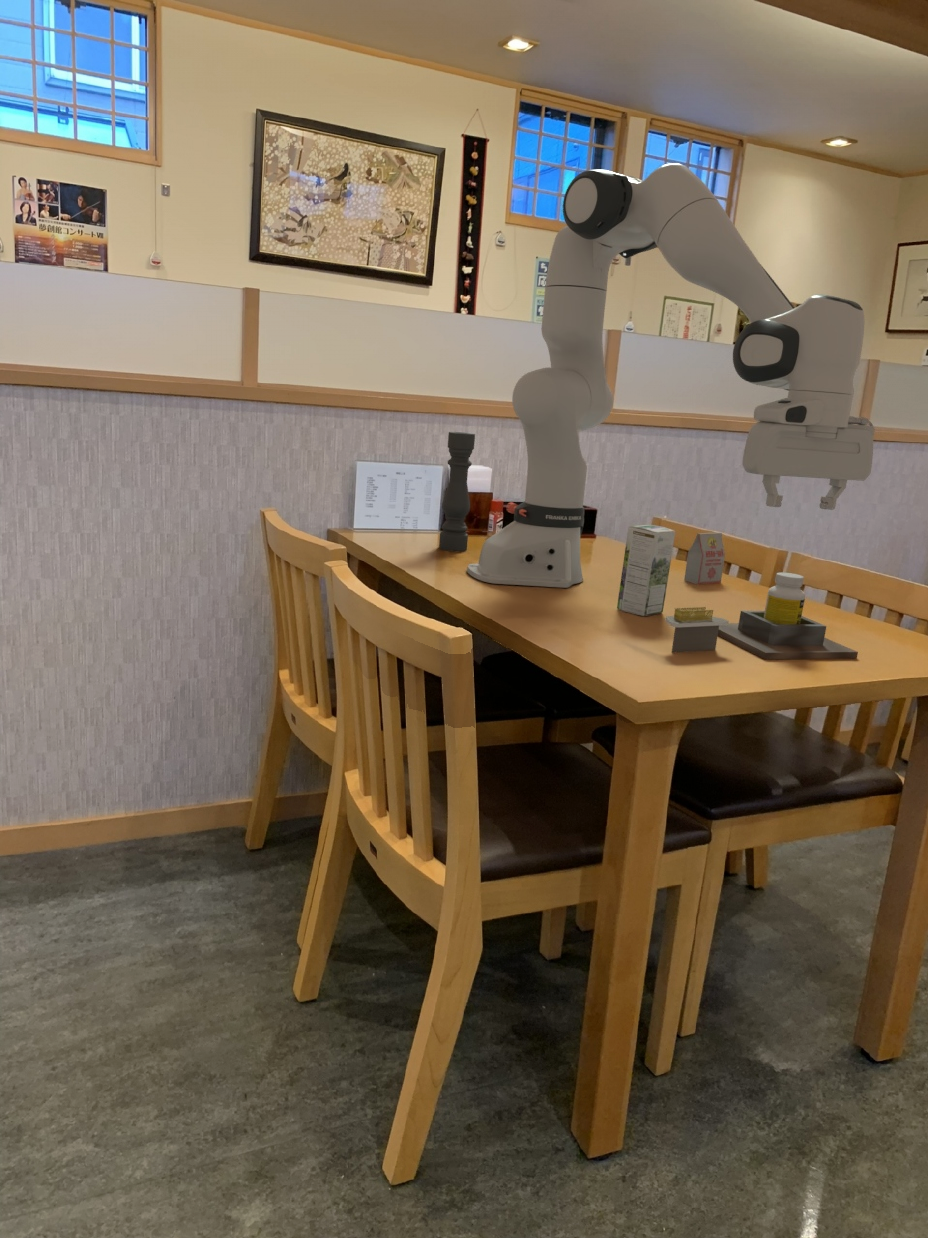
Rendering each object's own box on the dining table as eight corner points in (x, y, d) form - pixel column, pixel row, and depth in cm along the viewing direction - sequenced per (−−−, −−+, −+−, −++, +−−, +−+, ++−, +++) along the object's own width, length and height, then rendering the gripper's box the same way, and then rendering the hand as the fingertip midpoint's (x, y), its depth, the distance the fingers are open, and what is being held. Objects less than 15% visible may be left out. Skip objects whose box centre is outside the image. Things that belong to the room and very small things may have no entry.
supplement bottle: (800, 643, 135) (811, 580, 133) (762, 639, 136) (773, 576, 134) (794, 634, 140) (805, 573, 138) (758, 630, 141) (769, 569, 139)
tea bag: (684, 580, 183) (691, 531, 180) (707, 578, 186) (714, 531, 184) (697, 584, 180) (704, 535, 177) (720, 582, 183) (728, 534, 181)
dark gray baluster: (437, 545, 199) (446, 431, 193) (465, 547, 200) (474, 433, 194) (440, 550, 193) (448, 432, 187) (468, 552, 194) (478, 434, 188)
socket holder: (764, 659, 129) (769, 632, 128) (705, 629, 144) (709, 604, 142) (856, 658, 133) (861, 632, 132) (790, 629, 148) (794, 605, 147)
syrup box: (635, 606, 156) (646, 523, 152) (664, 613, 152) (676, 529, 148) (616, 609, 152) (626, 524, 148) (645, 617, 148) (656, 530, 144)
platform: (615, 643, 132) (620, 600, 131) (710, 638, 140) (716, 597, 138) (665, 668, 122) (672, 622, 120) (765, 661, 130) (772, 617, 128)
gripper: (861, 417, 136) (844, 507, 140) (744, 406, 130) (729, 501, 134) (891, 419, 130) (872, 513, 134) (770, 409, 124) (754, 508, 128)
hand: (800, 507), depth 134 cm, fingers open, 8 cm apart
